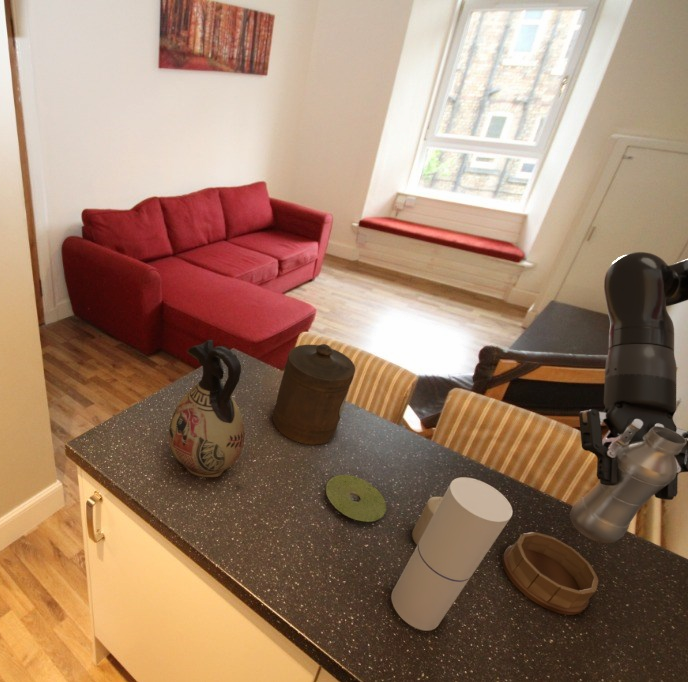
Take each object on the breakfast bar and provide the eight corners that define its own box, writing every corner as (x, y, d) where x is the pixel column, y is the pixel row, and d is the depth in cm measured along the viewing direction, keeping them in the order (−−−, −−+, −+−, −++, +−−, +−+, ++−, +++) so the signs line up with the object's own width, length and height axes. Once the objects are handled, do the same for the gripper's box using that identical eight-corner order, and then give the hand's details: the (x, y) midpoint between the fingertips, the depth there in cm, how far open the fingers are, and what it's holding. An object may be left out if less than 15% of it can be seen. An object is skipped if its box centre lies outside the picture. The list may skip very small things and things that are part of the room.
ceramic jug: (151, 454, 95) (158, 332, 80) (206, 428, 104) (222, 313, 89) (202, 509, 84) (221, 378, 69) (259, 475, 92) (287, 352, 77)
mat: (358, 476, 94) (360, 470, 93) (396, 520, 85) (399, 513, 84) (312, 487, 90) (314, 480, 89) (347, 534, 81) (349, 527, 80)
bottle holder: (567, 560, 80) (582, 542, 77) (600, 626, 70) (618, 608, 67) (493, 539, 83) (504, 521, 80) (514, 599, 73) (528, 581, 70)
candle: (407, 525, 84) (426, 488, 79) (437, 530, 83) (458, 493, 78) (417, 551, 79) (437, 514, 74) (449, 557, 79) (472, 519, 74)
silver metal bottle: (561, 530, 70) (637, 434, 60) (566, 505, 74) (637, 412, 64) (614, 557, 66) (704, 460, 56) (615, 530, 71) (700, 435, 61)
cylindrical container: (392, 619, 68) (454, 510, 56) (390, 578, 74) (446, 470, 62) (443, 638, 67) (519, 529, 54) (436, 594, 72) (504, 487, 60)
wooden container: (347, 439, 104) (375, 359, 93) (293, 450, 99) (315, 368, 88) (311, 400, 116) (332, 326, 105) (261, 409, 111) (277, 332, 100)
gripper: (601, 363, 65) (596, 477, 62) (722, 386, 62) (724, 509, 58) (567, 373, 73) (560, 477, 69) (674, 395, 69) (673, 505, 65)
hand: (636, 491), depth 63 cm, fingers closed on silver metal bottle, 6 cm apart
